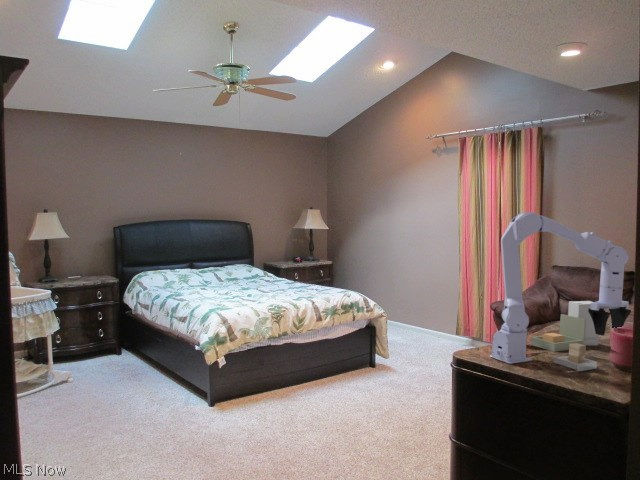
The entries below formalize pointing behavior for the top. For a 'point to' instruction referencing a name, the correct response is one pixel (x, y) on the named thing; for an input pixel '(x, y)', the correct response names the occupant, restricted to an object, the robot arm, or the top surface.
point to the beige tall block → (577, 352)
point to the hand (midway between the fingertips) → (608, 333)
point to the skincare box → (581, 311)
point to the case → (568, 327)
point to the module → (553, 337)
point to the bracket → (576, 366)
